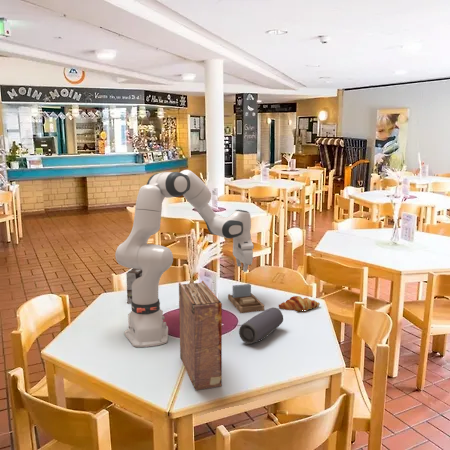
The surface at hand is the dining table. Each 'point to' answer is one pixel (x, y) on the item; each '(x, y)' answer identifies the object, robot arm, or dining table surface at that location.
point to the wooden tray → (246, 307)
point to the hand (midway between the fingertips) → (241, 268)
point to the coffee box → (131, 277)
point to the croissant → (299, 304)
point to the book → (201, 335)
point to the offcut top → (247, 300)
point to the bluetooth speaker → (260, 325)
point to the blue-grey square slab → (241, 290)
